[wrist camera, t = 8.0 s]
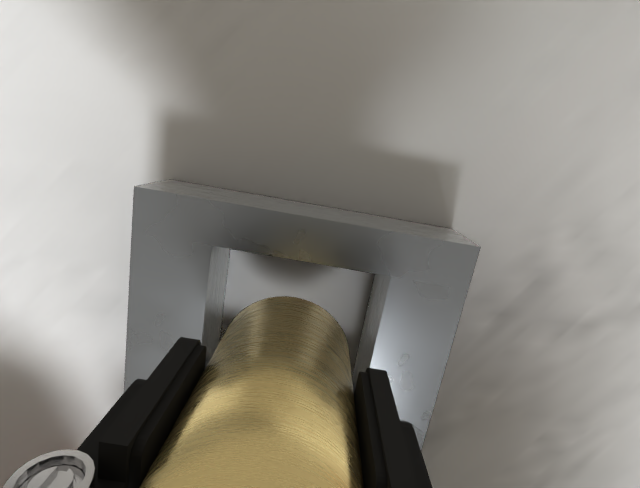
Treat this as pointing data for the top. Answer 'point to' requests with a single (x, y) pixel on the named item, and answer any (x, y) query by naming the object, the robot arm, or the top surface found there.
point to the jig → (303, 245)
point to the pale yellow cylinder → (268, 407)
